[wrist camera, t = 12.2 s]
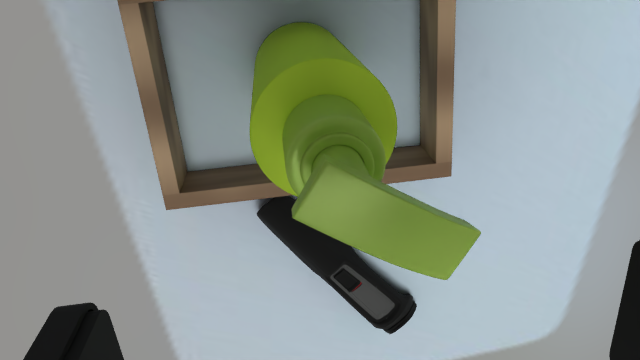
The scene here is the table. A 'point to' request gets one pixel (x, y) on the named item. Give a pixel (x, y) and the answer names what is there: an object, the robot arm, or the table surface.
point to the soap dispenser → (343, 153)
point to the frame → (250, 179)
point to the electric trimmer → (339, 267)
